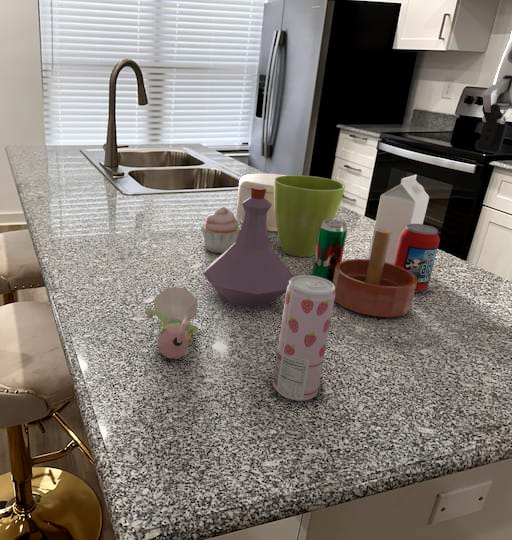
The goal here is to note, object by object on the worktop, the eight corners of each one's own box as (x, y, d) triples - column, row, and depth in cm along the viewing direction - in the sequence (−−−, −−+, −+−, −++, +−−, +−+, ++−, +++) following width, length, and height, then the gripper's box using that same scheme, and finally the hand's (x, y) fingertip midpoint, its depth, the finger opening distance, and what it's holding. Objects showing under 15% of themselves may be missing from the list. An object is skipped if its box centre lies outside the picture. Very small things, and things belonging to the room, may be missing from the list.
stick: (373, 297, 93) (388, 229, 88) (377, 303, 91) (393, 233, 86) (360, 296, 93) (374, 228, 88) (363, 302, 91) (378, 232, 86)
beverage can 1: (326, 392, 66) (347, 286, 60) (297, 407, 63) (316, 297, 57) (292, 372, 70) (308, 270, 65) (263, 385, 67) (277, 279, 62)
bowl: (393, 290, 98) (400, 261, 96) (421, 322, 86) (429, 290, 83) (323, 285, 99) (328, 256, 96) (340, 317, 87) (347, 284, 84)
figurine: (142, 307, 83) (134, 360, 70) (160, 269, 80) (155, 318, 67) (190, 326, 84) (191, 383, 71) (210, 290, 81) (215, 342, 68)
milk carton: (366, 262, 112) (384, 175, 105) (381, 255, 116) (399, 171, 109) (399, 271, 107) (420, 181, 100) (413, 264, 112) (434, 177, 105)
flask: (309, 298, 93) (328, 190, 86) (258, 327, 82) (274, 205, 75) (236, 272, 104) (246, 173, 96) (182, 294, 93) (189, 185, 85)
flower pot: (287, 236, 127) (296, 172, 121) (344, 253, 117) (357, 183, 111) (252, 249, 117) (260, 180, 111) (311, 268, 107) (323, 193, 101)
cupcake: (206, 257, 111) (209, 212, 107) (194, 243, 119) (197, 201, 116) (246, 255, 113) (251, 211, 109) (231, 242, 121) (236, 200, 118)
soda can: (342, 281, 101) (353, 223, 96) (329, 288, 98) (340, 228, 93) (318, 274, 104) (328, 217, 100) (305, 280, 101) (315, 222, 96)
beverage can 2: (409, 296, 96) (424, 235, 91) (381, 282, 101) (394, 224, 97) (434, 291, 98) (450, 231, 94) (405, 278, 104) (419, 221, 99)
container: (300, 216, 144) (306, 175, 140) (306, 236, 128) (314, 189, 123) (236, 211, 147) (240, 170, 143) (234, 229, 130) (238, 184, 126)
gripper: (535, 21, 66) (496, 155, 72) (609, 29, 73) (568, 151, 79) (479, 23, 72) (448, 147, 78) (552, 31, 79) (518, 144, 85)
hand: (508, 149), depth 79 cm, fingers open, 9 cm apart
